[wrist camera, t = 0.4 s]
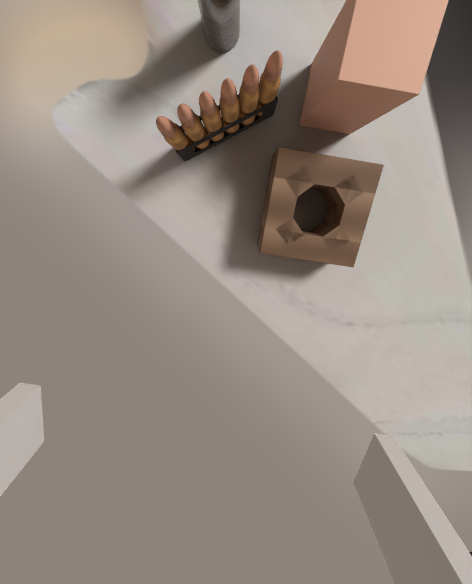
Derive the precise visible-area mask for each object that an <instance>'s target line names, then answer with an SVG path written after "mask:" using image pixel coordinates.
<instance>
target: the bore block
mask: <svg viewBox="0 0 472 584" xmlns="http://www.w3.org/2000/svg"><path fill="white" fill-rule="evenodd" d="M382 169H383V165H381V164H375V163H369V162H364V161H358V160H352V159H346V158H340V157H334V156H328V155H322V154H316V153H310V152H304V151H298V150H293V149H287V148H281V147H279V149H278V150H277V151H276V152H275V153H274V155H273V158H272V163H271V169H270V175H269V181H268V186H267V192H266V198H265V203H264V209H263V215H262V220H261V226H260V232H259V238H258V243H257V246H258V249H259V251H260V253H263V254H269V255H276V256H282V257H289V258H296V259H302V260H309V261H315V262H322V263H329V264H335V265H342V266H348V267H354V264H355V260H356V257H357V253H358V250H359V247H360V243H361V240H362V237H363V233H364V230H365V226H366V223H367V220H368V216H369V213H370V209H371V206H372V203H373V199H374V196H375V193H376V189H377V186H378V182H379V179H380V176H381V172H382ZM310 187H311V188H317V189H321V191H322V193H323V194H324V196H325V198H326V199H327V201H328V203H329V206H328V210H327V214H326V219H325V222H323V223H322V224H320V225H319V226H317V227H316V228H315V229H313V230H312V231H304V230H301V229H300V228H299V226H298V225H297V223H296V221H295V220H294V218H293V216H294V211H295V206H296V201H297V197H298V196H299V195H301V194H302V193H303V192H305V191H306V190H307V189H309V188H310Z"/></svg>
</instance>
